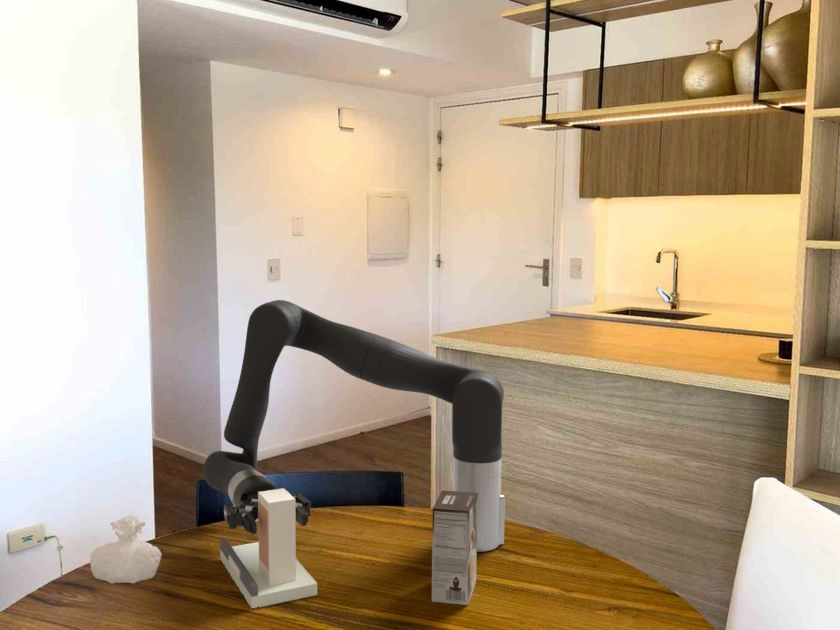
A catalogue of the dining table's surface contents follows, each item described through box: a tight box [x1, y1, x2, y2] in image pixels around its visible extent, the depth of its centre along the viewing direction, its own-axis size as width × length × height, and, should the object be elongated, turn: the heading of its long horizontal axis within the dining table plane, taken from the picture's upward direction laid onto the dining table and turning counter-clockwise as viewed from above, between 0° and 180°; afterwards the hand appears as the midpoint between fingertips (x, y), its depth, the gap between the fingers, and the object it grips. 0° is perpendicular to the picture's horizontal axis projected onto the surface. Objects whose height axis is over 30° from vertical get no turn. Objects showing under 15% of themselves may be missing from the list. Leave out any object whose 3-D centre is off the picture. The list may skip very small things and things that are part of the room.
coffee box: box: [431, 490, 478, 606], centre depth 131 cm, size 9×6×16 cm
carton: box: [257, 487, 297, 586], centre depth 132 cm, size 5×6×14 cm
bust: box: [89, 514, 162, 584], centre depth 137 cm, size 12×8×11 cm
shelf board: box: [219, 538, 318, 609], centre depth 137 cm, size 11×21×4 cm, turn 27°
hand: (280, 524), depth 131 cm, fingers open, 8 cm apart
